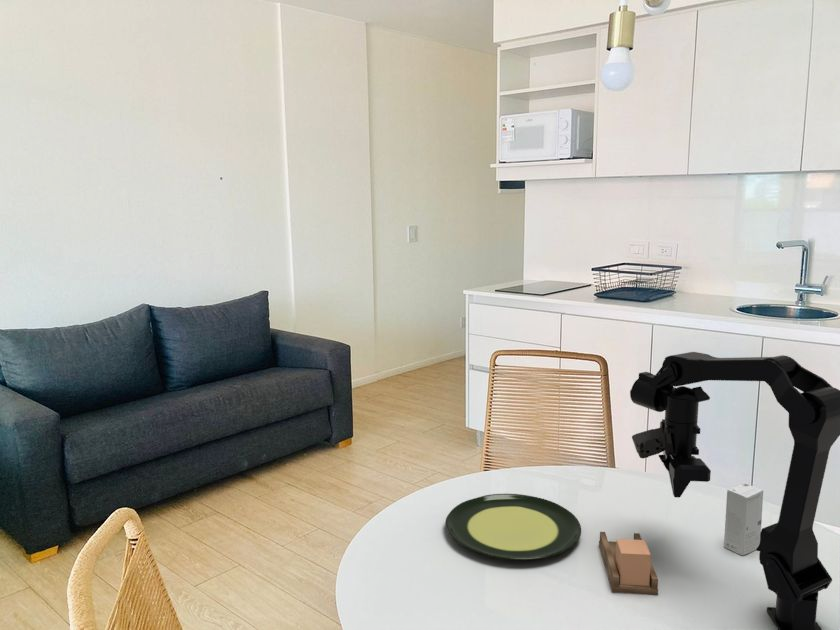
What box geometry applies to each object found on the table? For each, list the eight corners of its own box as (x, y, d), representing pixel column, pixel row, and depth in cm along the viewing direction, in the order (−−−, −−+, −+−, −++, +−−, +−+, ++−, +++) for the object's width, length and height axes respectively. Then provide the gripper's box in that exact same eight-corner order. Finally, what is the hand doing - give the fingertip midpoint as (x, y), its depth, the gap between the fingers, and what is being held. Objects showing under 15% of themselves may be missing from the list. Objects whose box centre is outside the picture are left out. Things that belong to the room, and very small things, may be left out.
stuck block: (649, 586, 116) (650, 554, 115) (620, 584, 117) (621, 553, 116) (643, 570, 121) (644, 540, 120) (615, 568, 122) (616, 538, 120)
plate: (451, 572, 124) (450, 560, 123) (441, 504, 151) (441, 494, 151) (598, 568, 125) (598, 555, 124) (562, 501, 152) (562, 491, 152)
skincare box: (743, 556, 127) (748, 498, 125) (721, 547, 131) (726, 489, 129) (761, 547, 130) (765, 490, 128) (739, 537, 134) (743, 482, 132)
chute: (657, 594, 115) (658, 579, 115) (612, 592, 116) (612, 576, 116) (639, 547, 131) (639, 533, 131) (598, 545, 132) (599, 531, 132)
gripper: (627, 402, 134) (624, 475, 136) (647, 435, 115) (643, 518, 118) (684, 403, 132) (680, 476, 135) (714, 437, 114) (708, 520, 117)
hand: (676, 496), depth 126 cm, fingers closed
